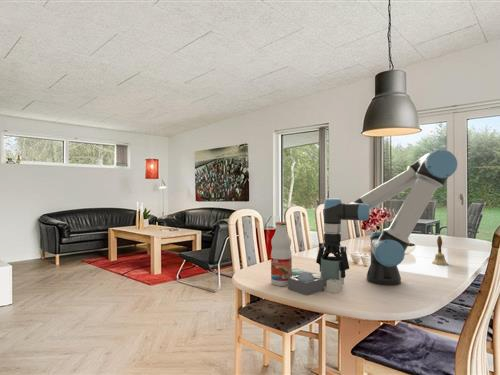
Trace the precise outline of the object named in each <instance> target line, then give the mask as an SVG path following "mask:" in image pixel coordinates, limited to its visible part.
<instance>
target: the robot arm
mask: <svg viewBox="0 0 500 375" xmlns="http://www.w3.org/2000/svg"><path fill="white" fill-rule="evenodd" d="M457 168H458V160H457V158H456V156H455V155H454V154H453V153H452V152H451V151H449V150H447V149H435V150H432V151H430V152H427V153H425V154H424V155H422V156H421V157H420V158H419V159H417V160H416V161H415V162H414V163H412V164H410V165H409V166H407V169H406V170H405V171H403V172H401V173H399V174H398V175H395V176H394V177H393V178H391V179H389V180H388V181H386V182H384V183H382V184H380V185H379V186H377V187H376V188H373V189H371V190H370V191H369V192H367V193H365V194H363V195H362V196H360V197H358V198H356V199H355V200H354V201H351V202H349V203H345V202H344V203H343V202H342V199H341V198H326V199H324V204H323V232H324V233H323V241H324V242H319V243H318V251H317V252H318V253H317V255H316V261H315V262H316V263H315V264H318V265H319V272H320V275H321V278H322V273H321V257H323V259H324V260H327V258H328V256H330V254H332V255H333V257H336V260H337V261H342V262H339V267H340V270H339V280H341V286H343V285H344V286H345V278H346V271H347V270H349V269H350V264H349V260H348V256H347V255H348V254H347V246H342V245H341V240H342V238H341V237H342V234H341V233H342V221H360V222H362V221H369V219H370V211H371V210H373V209H374V208H376V207H378V206H380V205H381V204H384V203H385V202H387V201H388V200H391V199H393V198H394V197H396V196H397V195H399V194H401V193H402V192H404V191H407V190H409V189H410V188H411V189H410V191H409V192H408V194H407V195H406V198H405V199H404V201H403V203H402V204H401V206H400V208H399V209H398V211H397V213H396V215H395V217H393V219H392V220H393V221H392V222H391V224H390V226H389V227H388V228H384V229H383V230H382V231H373V232H371V234H370V238H369V239H370V263H369V267H368V270H367V273H366V280H367V281H368V282H369V283H370V282H371V283H372V284H378V285H385V286H386V285H387V286H395V285H399V284H401V282H402V277H401V274H400V271H399V268H398V265H400V264H401V263H402V262H403V260H404V259H405V255H406V254H405V252H406V250H407V249H408V247H409V245H410V240H409V237H410V235H411V234H412V232H413V230H414V229H415V227H416V225H417V224H418V222H419V220H420V218H421V217H422V215H423V213H424V211H425V210H426V208H427V207H428V204H430V202H431V200H432V198H433V196H435V195H434V194H435V193H436V191H437V189H439V188H442V187H444V186H445V184H446V182H447V180H448V179H449V178H450V177H451V176H452V175H454V173H455V172H456V171H457Z"/></svg>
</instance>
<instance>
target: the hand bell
mask: <svg viewBox="0 0 500 375" xmlns="http://www.w3.org/2000/svg"><path fill="white" fill-rule="evenodd" d="M436 244H437V253H435V257H434V259H433V261H432V262H431V264H433V265H435V264H436V266H448V265H449V264H448V262H447V260H446V258H445V254H443V252H442V246H443V240H442V237H441V236H440V235H438V236H437V239H436Z"/></svg>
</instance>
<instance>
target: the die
mask: <svg viewBox="0 0 500 375" xmlns="http://www.w3.org/2000/svg"><path fill="white" fill-rule="evenodd" d="M326 292H328V293H331V294H332V293H333V294H338V293H339V292H342V285H341V280H336V279H329V280H327V287H326Z"/></svg>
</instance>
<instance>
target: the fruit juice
mask: <svg viewBox="0 0 500 375" xmlns="http://www.w3.org/2000/svg"><path fill="white" fill-rule="evenodd" d="M275 227H276V229H275V232H274V233H273V234H274V235H273V236H272V238H271V240H270V242H271V243H270V244H271V247H272V248H271V252H270V275H271V276H270V281H271V284H272V285H273V286H275V287H288V277H292V269H293V267H292V266H293V265H292V263H293V260H292V256H293V254H292V250H291V246H292V238H291V237H290V236H289V234H288V231H287V222H286V221H277V222H275Z"/></svg>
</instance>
